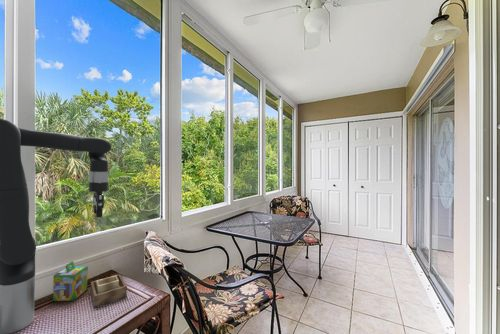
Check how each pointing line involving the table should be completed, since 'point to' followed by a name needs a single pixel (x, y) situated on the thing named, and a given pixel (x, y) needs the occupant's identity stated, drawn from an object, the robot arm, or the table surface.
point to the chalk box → (70, 283)
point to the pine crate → (107, 284)
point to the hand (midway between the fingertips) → (97, 215)
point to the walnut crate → (108, 293)
